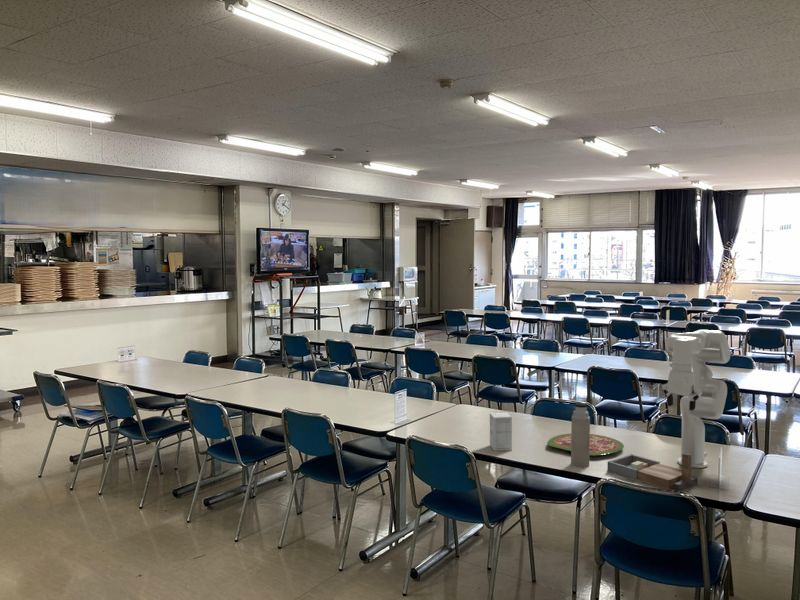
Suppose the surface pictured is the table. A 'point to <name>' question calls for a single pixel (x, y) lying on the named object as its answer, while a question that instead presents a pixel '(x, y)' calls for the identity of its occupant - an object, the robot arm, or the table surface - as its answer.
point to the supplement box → (500, 431)
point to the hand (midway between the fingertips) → (680, 407)
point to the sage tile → (637, 465)
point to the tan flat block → (660, 476)
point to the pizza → (597, 444)
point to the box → (628, 465)
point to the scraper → (686, 475)
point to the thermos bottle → (580, 437)
